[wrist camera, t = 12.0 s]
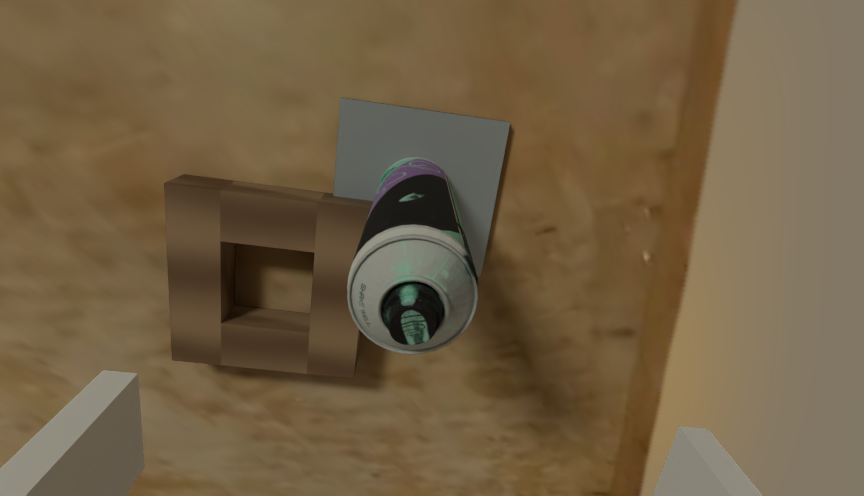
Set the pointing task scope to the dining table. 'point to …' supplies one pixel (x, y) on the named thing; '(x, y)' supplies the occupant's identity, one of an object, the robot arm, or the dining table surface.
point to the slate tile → (426, 138)
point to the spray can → (413, 263)
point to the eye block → (215, 275)
